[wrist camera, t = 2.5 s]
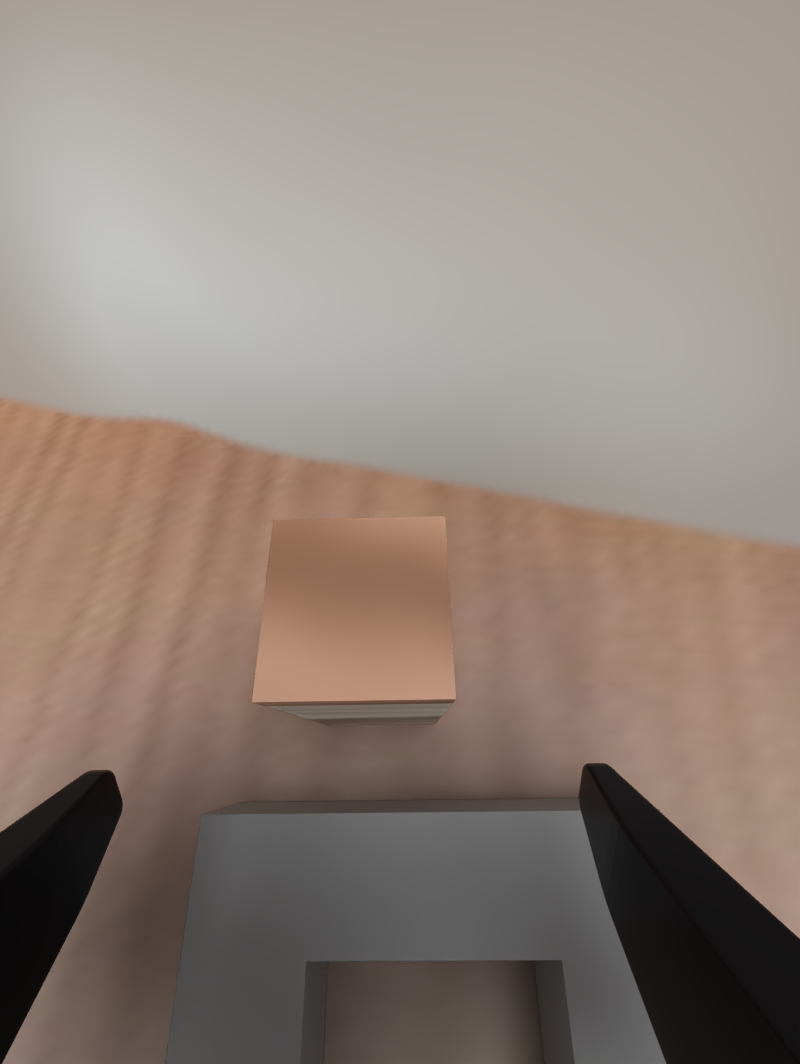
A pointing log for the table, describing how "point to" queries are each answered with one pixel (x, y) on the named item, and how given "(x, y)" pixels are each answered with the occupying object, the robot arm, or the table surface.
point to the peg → (357, 621)
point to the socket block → (396, 921)
